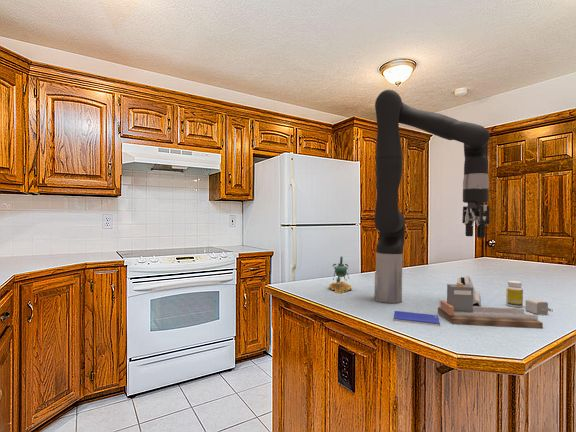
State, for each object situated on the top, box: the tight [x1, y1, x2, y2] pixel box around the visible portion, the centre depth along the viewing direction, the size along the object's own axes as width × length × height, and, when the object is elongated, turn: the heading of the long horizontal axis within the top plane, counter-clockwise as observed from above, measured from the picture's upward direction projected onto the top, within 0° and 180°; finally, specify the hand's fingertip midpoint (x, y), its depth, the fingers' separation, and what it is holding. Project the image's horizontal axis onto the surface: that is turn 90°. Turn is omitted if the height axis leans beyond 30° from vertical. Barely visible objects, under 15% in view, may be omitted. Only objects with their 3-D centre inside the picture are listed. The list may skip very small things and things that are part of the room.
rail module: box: [446, 282, 474, 312], centre depth 101 cm, size 6×4×9 cm
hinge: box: [457, 275, 482, 307], centre depth 124 cm, size 17×5×10 cm, turn 150°
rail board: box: [437, 299, 544, 329], centre depth 100 cm, size 24×12×4 cm, turn 84°
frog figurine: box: [328, 256, 353, 294], centre depth 139 cm, size 10×18×15 cm, turn 164°
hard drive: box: [393, 310, 441, 327], centre depth 99 cm, size 2×8×12 cm
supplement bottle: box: [505, 280, 524, 308], centre depth 117 cm, size 5×5×8 cm
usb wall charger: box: [524, 298, 553, 316], centre depth 108 cm, size 4×7×4 cm, turn 8°
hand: (474, 237), depth 111 cm, fingers open, 8 cm apart
